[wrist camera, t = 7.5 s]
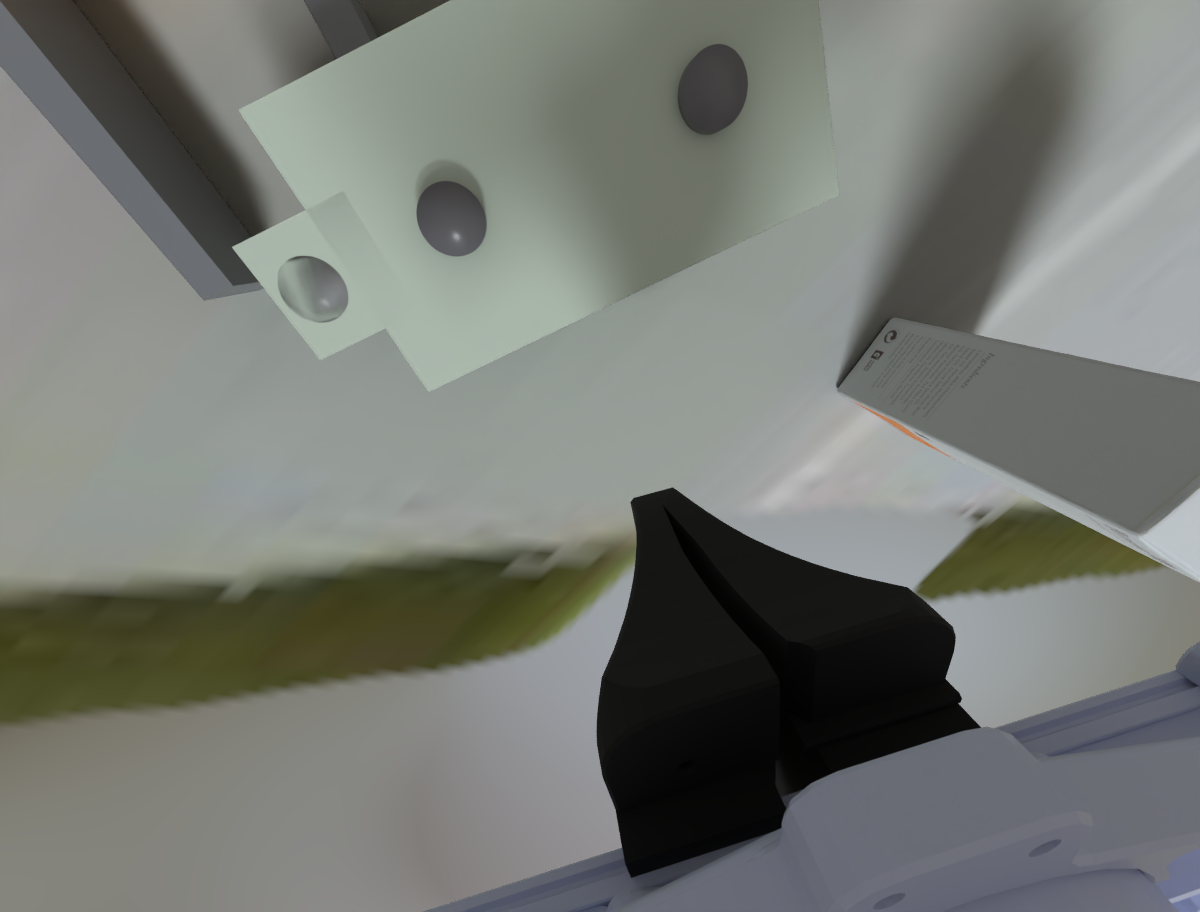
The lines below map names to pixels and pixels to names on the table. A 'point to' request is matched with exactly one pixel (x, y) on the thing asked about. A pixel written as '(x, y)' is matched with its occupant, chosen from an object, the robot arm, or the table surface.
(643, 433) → the table surface
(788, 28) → the cover
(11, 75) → the long grey beam
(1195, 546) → the skincare box
